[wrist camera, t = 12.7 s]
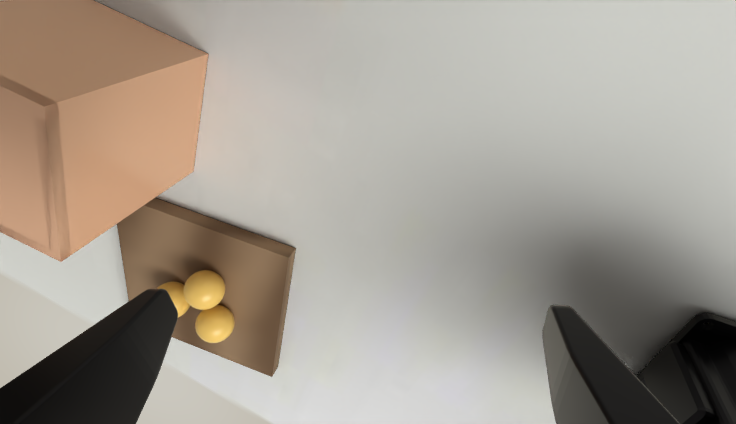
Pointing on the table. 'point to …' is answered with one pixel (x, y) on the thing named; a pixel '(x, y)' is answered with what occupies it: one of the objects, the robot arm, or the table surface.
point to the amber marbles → (203, 304)
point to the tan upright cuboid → (89, 119)
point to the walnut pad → (226, 258)
